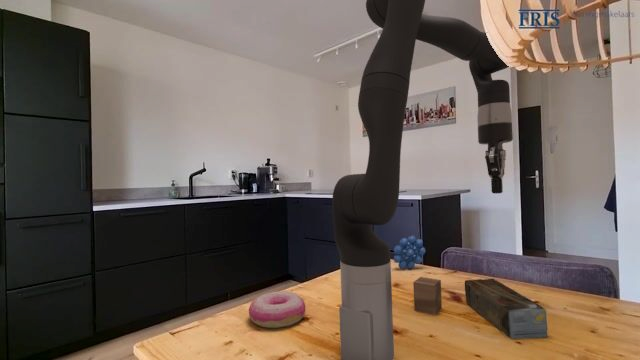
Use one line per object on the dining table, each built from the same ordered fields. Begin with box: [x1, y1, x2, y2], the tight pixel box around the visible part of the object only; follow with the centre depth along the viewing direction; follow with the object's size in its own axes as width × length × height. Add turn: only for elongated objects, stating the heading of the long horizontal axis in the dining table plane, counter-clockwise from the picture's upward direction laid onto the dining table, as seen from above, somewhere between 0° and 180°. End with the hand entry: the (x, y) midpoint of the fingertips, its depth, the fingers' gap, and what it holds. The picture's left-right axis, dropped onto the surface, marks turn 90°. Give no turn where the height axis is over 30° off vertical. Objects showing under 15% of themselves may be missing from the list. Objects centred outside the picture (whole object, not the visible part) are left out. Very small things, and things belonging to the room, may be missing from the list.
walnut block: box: [412, 276, 443, 316], centre depth 77 cm, size 5×5×7 cm
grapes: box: [393, 235, 426, 270], centre depth 113 cm, size 12×7×12 cm, turn 93°
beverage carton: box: [464, 278, 549, 340], centre depth 71 cm, size 8×19×7 cm, turn 0°
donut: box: [248, 291, 306, 329], centre depth 75 cm, size 14×13×5 cm
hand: (497, 193), depth 78 cm, fingers closed
